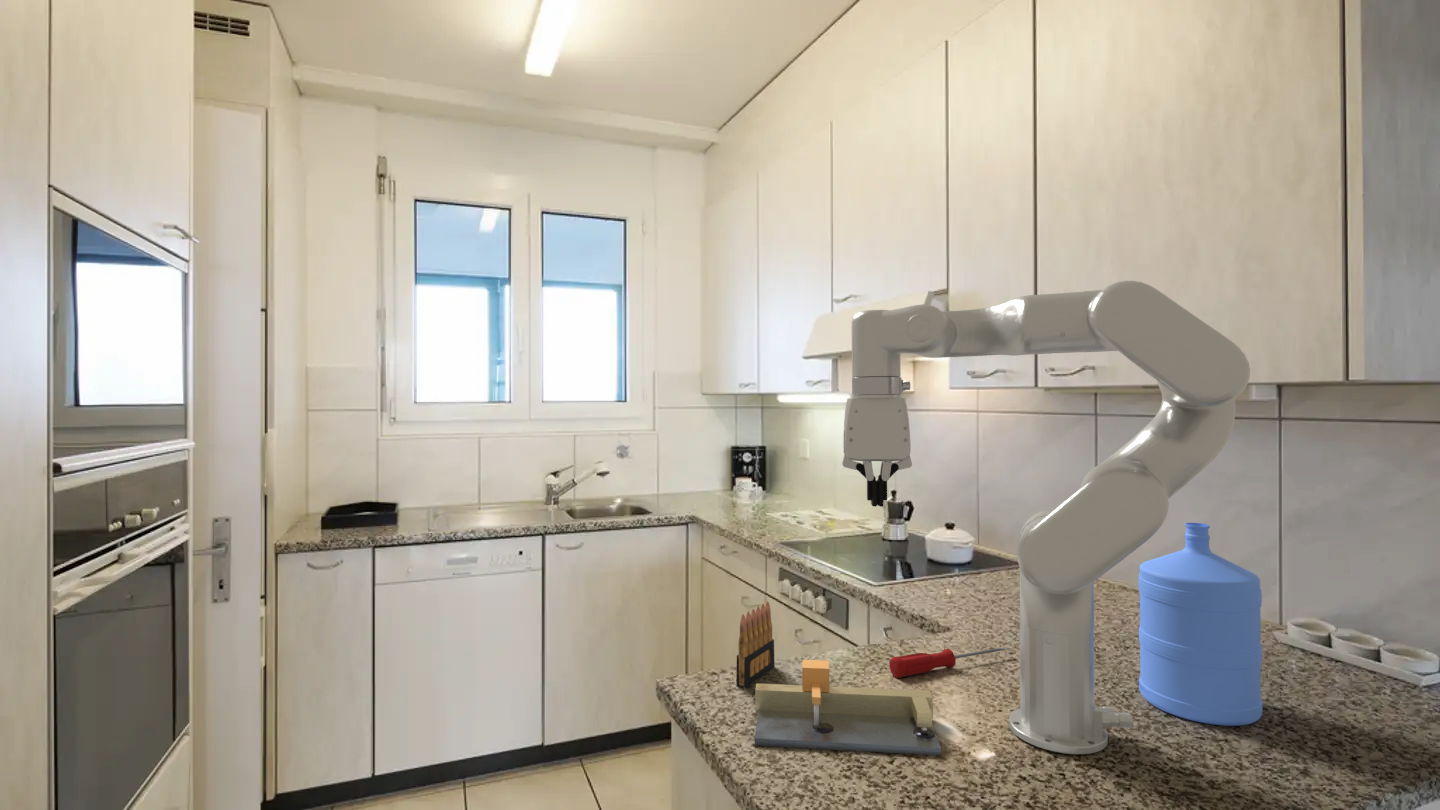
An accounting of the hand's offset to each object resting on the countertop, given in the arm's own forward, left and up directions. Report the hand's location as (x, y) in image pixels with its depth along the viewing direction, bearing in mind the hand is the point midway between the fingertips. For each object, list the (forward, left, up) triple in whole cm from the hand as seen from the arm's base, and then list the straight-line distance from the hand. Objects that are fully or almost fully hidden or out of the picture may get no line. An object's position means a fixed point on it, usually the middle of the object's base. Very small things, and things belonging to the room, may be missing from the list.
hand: (877, 505), depth 108 cm
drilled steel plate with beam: (+6, +9, -31) cm, 33 cm away
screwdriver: (-15, -16, -31) cm, 38 cm away
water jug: (-49, -4, -31) cm, 58 cm away
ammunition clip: (+20, -8, -31) cm, 38 cm away
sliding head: (+10, +9, -30) cm, 32 cm away
